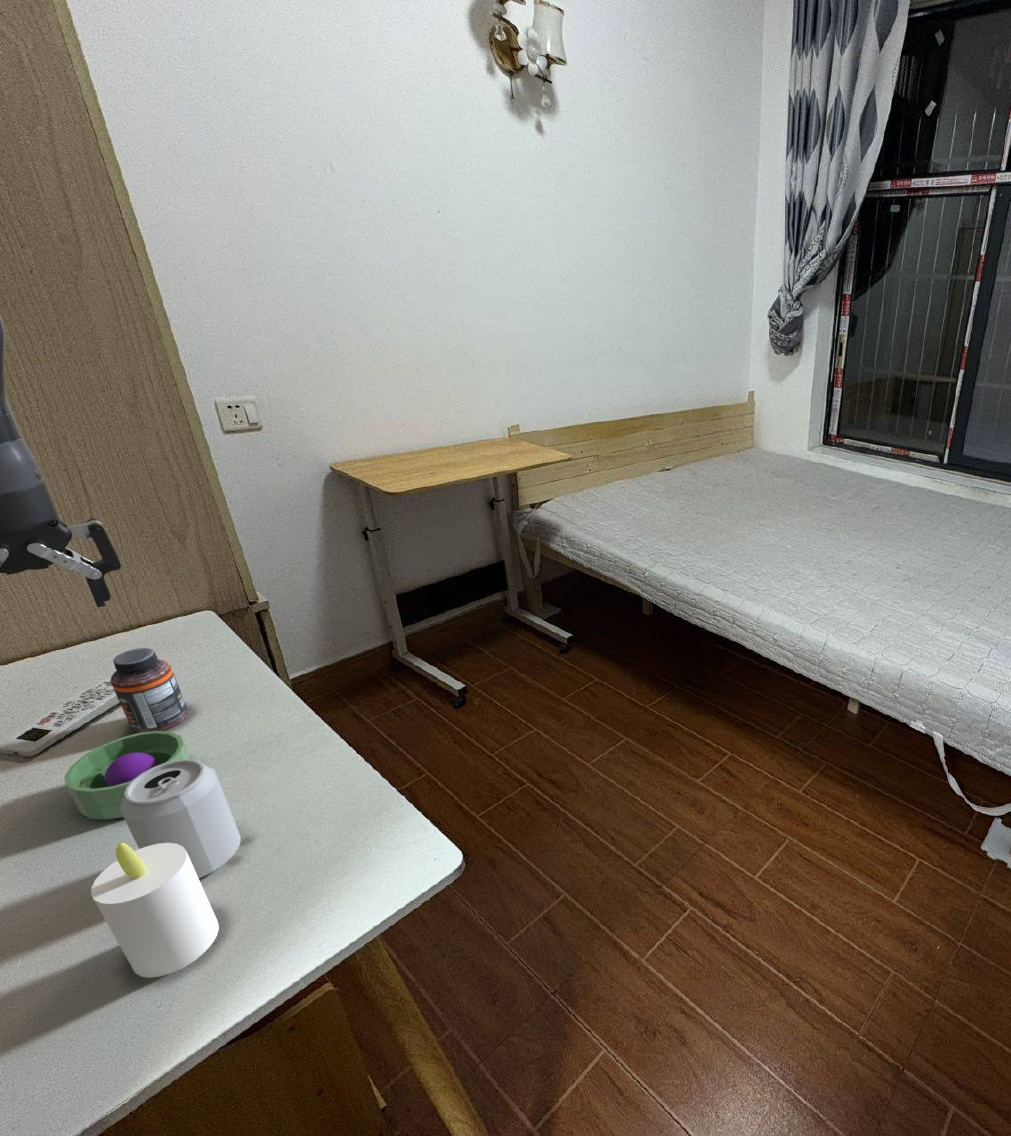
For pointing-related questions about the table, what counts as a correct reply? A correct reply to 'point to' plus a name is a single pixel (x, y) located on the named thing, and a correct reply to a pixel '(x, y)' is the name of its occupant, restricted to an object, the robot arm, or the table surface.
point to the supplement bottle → (148, 691)
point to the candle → (156, 908)
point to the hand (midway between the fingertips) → (48, 615)
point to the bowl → (91, 768)
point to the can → (182, 813)
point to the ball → (128, 768)
